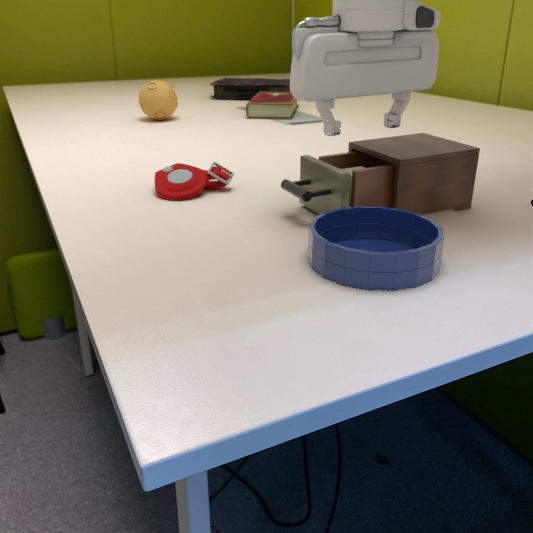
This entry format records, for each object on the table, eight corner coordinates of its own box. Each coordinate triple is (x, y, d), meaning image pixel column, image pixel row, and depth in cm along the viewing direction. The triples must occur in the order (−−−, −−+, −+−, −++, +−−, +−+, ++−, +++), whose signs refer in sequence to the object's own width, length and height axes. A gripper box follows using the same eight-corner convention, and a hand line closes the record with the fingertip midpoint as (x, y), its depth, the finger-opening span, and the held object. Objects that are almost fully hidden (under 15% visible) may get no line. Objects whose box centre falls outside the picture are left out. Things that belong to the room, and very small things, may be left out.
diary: (227, 91, 189) (226, 76, 187) (298, 93, 184) (298, 77, 182) (209, 99, 173) (208, 82, 171) (287, 101, 167) (287, 84, 165)
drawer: (310, 231, 68) (312, 178, 65) (273, 207, 76) (272, 159, 74) (417, 211, 75) (422, 161, 72) (371, 190, 83) (374, 145, 80)
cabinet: (394, 223, 73) (400, 159, 69) (345, 199, 82) (348, 141, 79) (470, 208, 78) (480, 148, 74) (416, 186, 88) (423, 132, 84)
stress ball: (137, 123, 138) (133, 81, 134) (144, 116, 147) (140, 77, 143) (177, 122, 138) (174, 81, 134) (181, 115, 147) (178, 76, 143)
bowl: (384, 232, 70) (387, 199, 68) (467, 277, 58) (474, 238, 56) (286, 253, 64) (286, 217, 62) (356, 307, 53) (359, 265, 51)
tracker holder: (169, 198, 80) (138, 168, 86) (175, 221, 83) (144, 191, 89) (238, 166, 84) (204, 140, 90) (241, 190, 87) (207, 163, 93)
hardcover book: (246, 118, 143) (245, 101, 141) (258, 105, 162) (257, 90, 160) (291, 119, 141) (292, 102, 140) (298, 105, 160) (298, 90, 158)
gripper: (306, 17, 59) (305, 145, 65) (451, 12, 67) (438, 127, 73) (279, 17, 64) (281, 135, 70) (417, 12, 72) (408, 119, 78)
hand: (362, 131), depth 72 cm, fingers open, 8 cm apart
